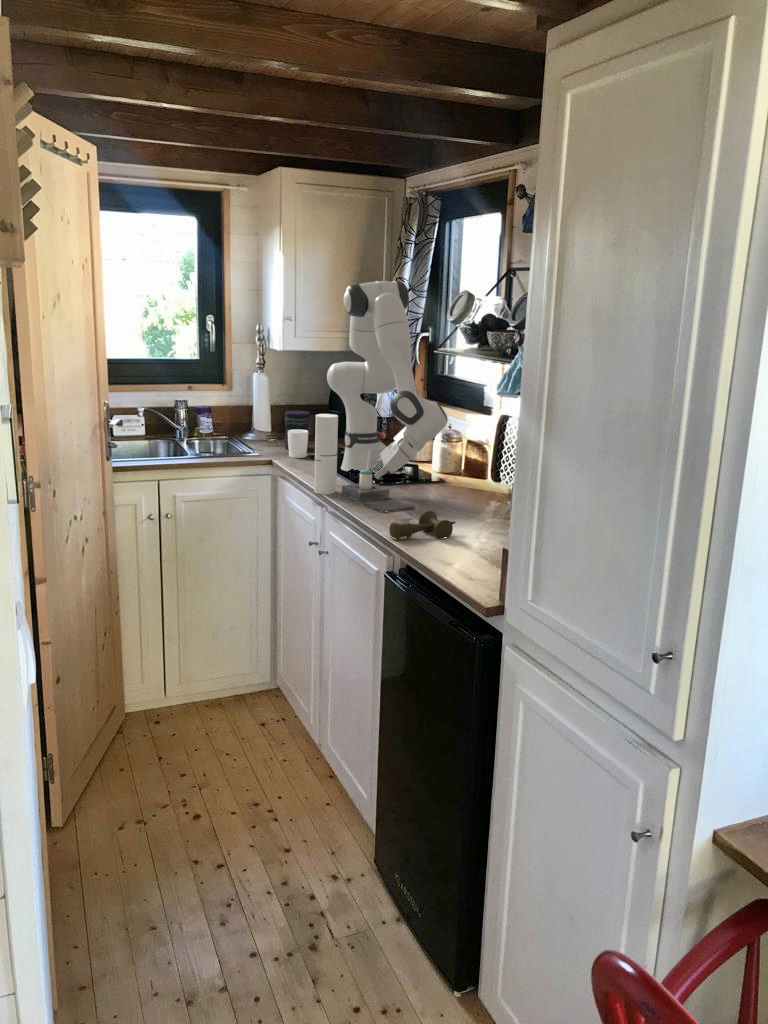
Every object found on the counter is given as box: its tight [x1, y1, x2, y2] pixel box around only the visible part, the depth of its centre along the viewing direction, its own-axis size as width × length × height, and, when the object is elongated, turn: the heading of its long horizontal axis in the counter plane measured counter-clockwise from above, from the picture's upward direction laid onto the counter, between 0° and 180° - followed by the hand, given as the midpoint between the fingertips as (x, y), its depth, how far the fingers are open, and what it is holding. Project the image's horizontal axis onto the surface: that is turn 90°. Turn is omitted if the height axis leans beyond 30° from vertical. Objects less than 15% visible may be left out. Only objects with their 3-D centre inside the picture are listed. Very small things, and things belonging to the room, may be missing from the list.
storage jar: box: [284, 409, 310, 451], centre depth 340 cm, size 10×10×15 cm
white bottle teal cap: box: [358, 469, 373, 490], centre depth 269 cm, size 4×4×8 cm
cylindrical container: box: [313, 413, 339, 495], centre depth 271 cm, size 7×7×25 cm
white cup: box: [288, 429, 309, 459], centre depth 326 cm, size 8×8×10 cm
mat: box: [364, 498, 416, 513], centre depth 259 cm, size 12×10×1 cm
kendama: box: [389, 510, 456, 540], centre depth 230 cm, size 6×10×20 cm
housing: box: [341, 482, 390, 502], centre depth 270 cm, size 11×11×3 cm
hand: (374, 474), depth 268 cm, fingers open, 8 cm apart
